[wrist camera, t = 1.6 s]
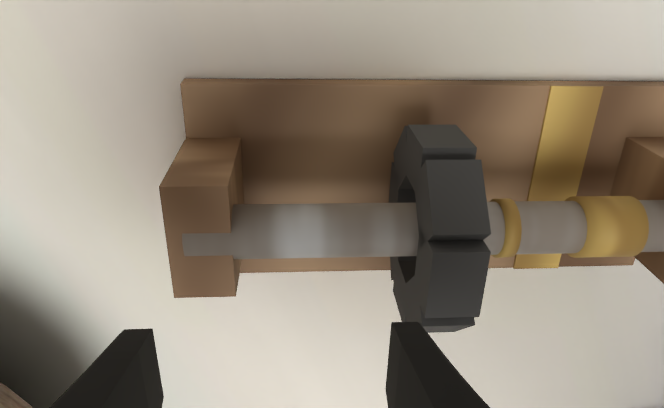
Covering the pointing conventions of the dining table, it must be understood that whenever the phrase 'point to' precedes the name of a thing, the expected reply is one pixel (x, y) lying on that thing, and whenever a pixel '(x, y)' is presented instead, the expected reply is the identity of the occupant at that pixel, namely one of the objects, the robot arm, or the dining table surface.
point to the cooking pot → (11, 399)
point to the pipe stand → (375, 172)
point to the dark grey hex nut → (441, 228)
